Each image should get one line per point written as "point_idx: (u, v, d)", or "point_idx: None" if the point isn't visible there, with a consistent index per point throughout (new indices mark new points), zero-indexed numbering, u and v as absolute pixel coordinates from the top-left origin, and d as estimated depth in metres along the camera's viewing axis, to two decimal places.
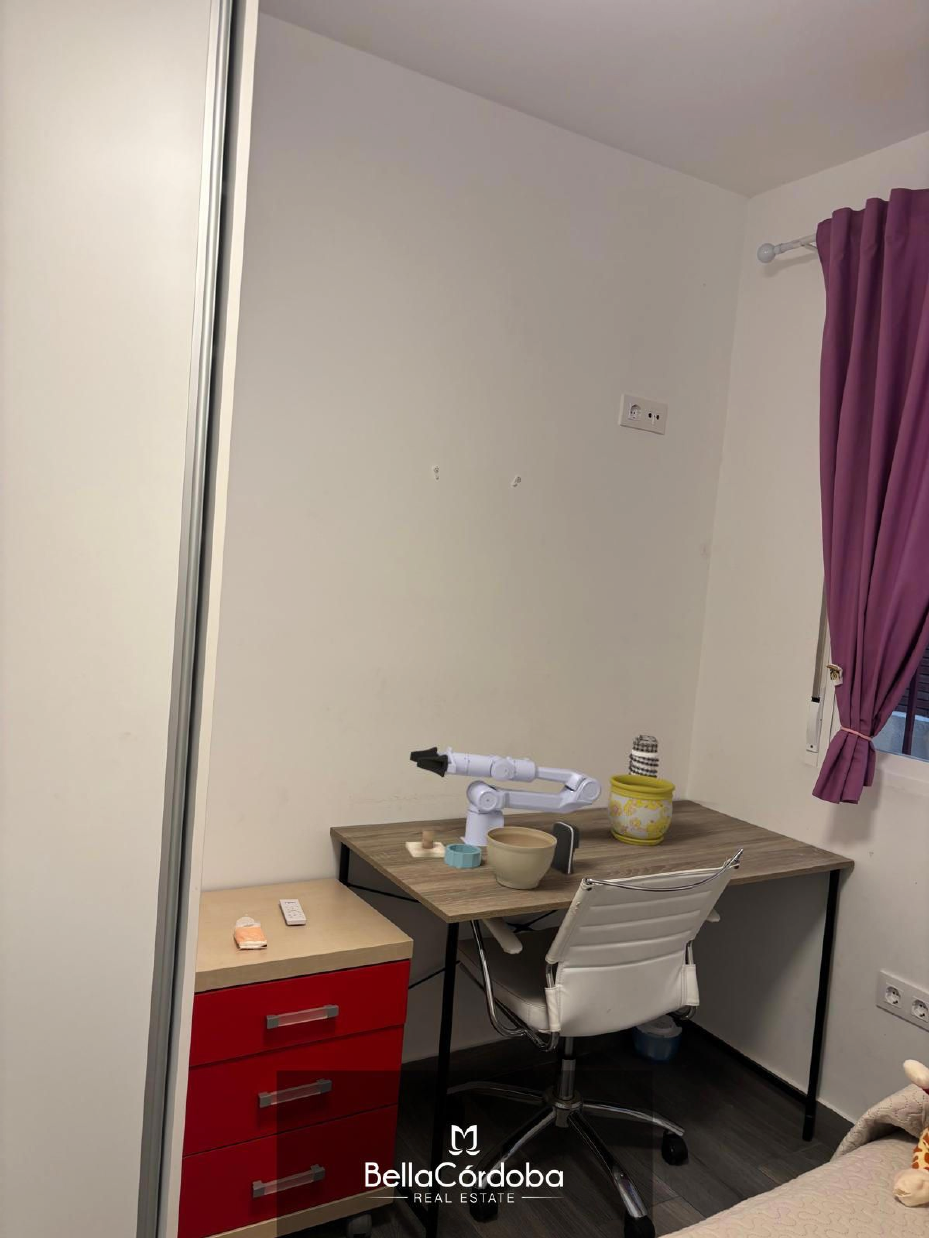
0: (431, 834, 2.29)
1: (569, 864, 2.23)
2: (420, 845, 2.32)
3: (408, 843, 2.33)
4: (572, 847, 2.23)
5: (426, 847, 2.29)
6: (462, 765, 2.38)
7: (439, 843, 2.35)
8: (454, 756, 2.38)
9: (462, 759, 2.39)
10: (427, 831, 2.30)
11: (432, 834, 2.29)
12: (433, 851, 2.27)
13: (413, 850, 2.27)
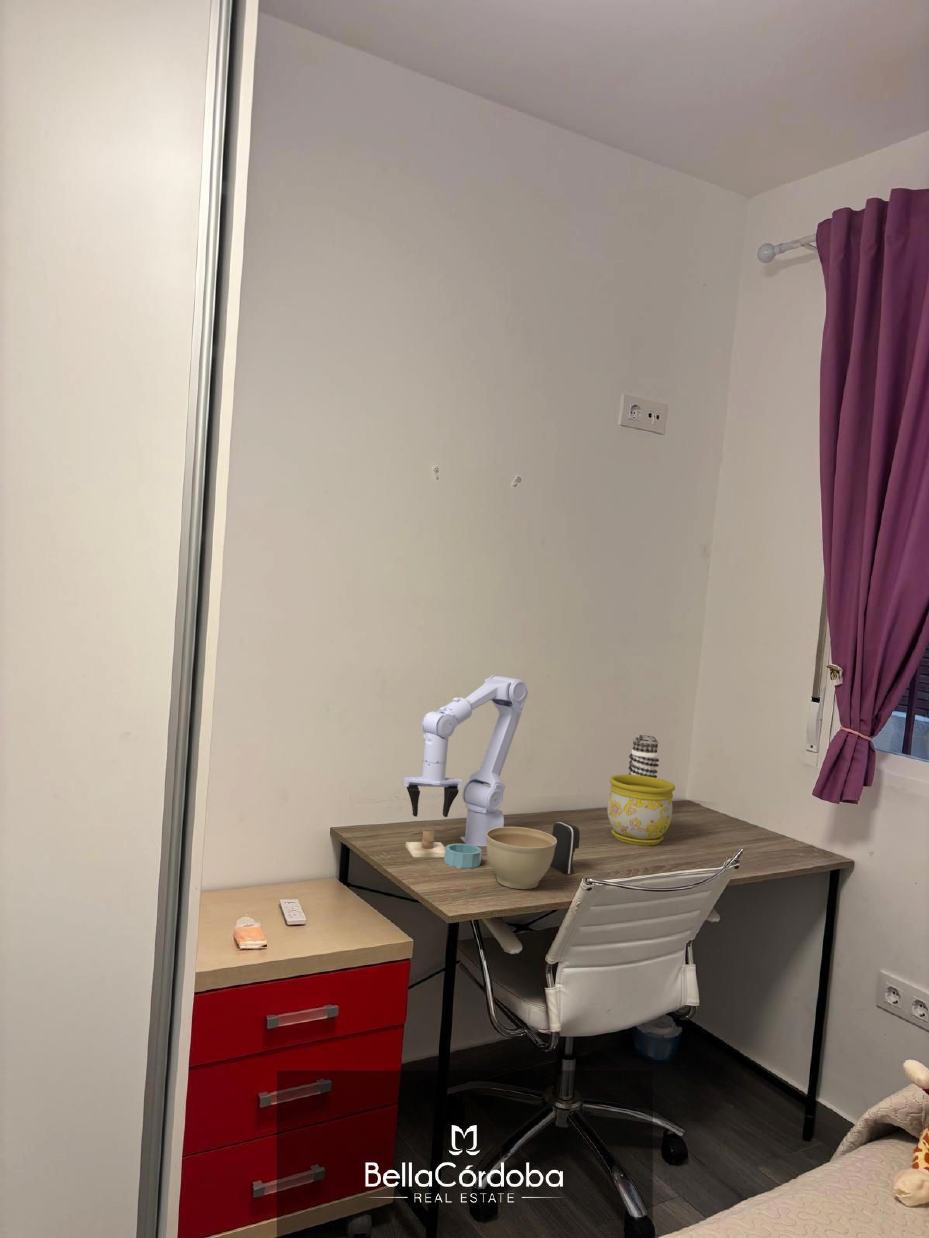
0: (431, 834, 2.29)
1: (569, 864, 2.23)
2: (420, 845, 2.32)
3: (408, 843, 2.33)
4: (572, 847, 2.23)
5: (426, 847, 2.29)
6: None
7: (439, 843, 2.35)
8: (443, 777, 2.28)
9: (444, 768, 2.29)
10: (427, 831, 2.30)
11: (432, 834, 2.29)
12: (433, 851, 2.27)
13: (413, 850, 2.27)
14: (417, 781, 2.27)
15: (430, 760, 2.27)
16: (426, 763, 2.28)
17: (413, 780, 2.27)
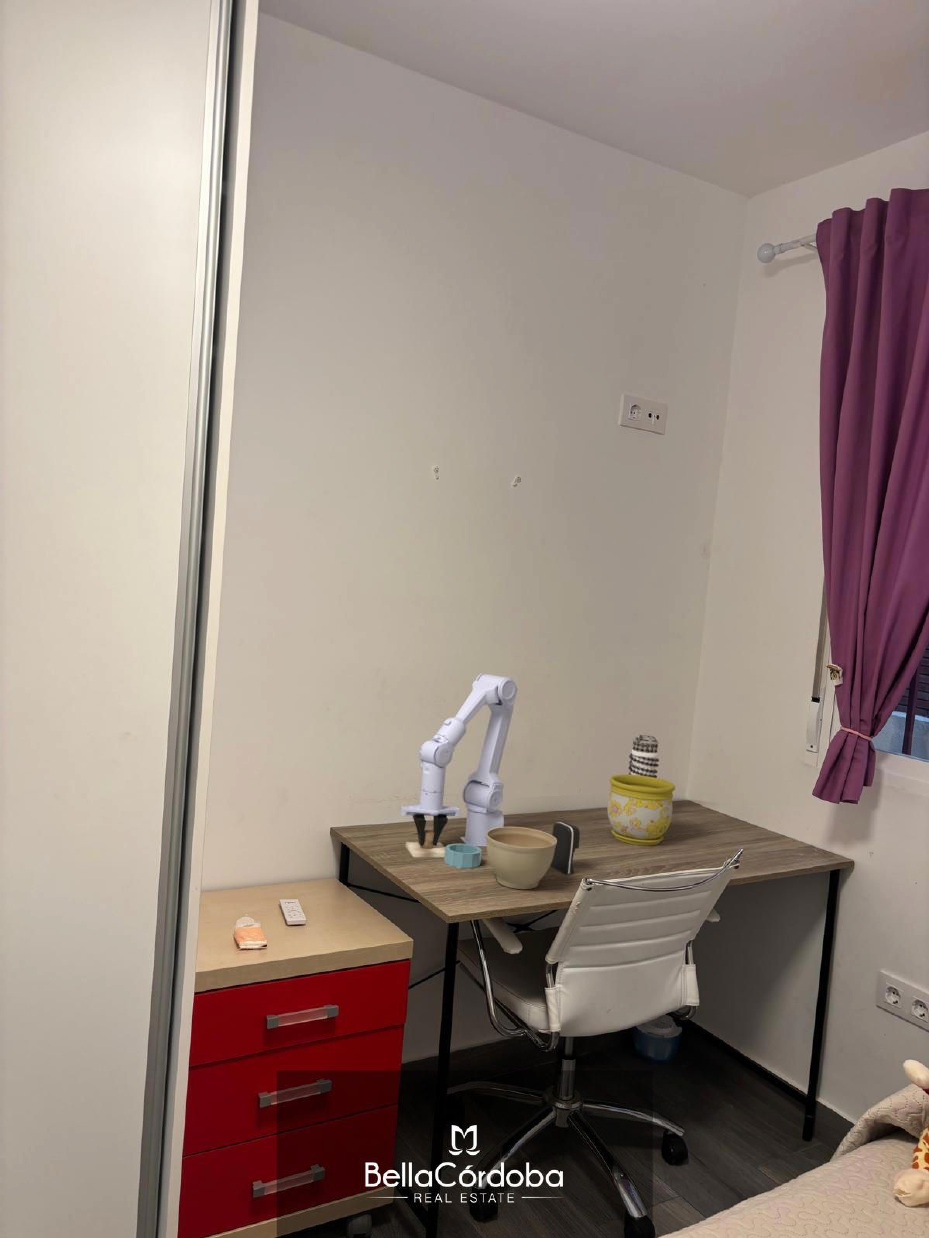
0: (431, 834, 2.29)
1: (569, 864, 2.23)
2: None
3: (408, 843, 2.33)
4: (572, 847, 2.23)
5: (426, 847, 2.29)
6: None
7: (439, 843, 2.35)
8: (440, 806, 2.29)
9: (442, 797, 2.29)
10: (427, 831, 2.30)
11: (432, 834, 2.29)
12: (433, 851, 2.27)
13: (413, 850, 2.27)
14: (415, 810, 2.27)
15: (427, 789, 2.27)
16: (424, 792, 2.28)
17: (411, 809, 2.27)
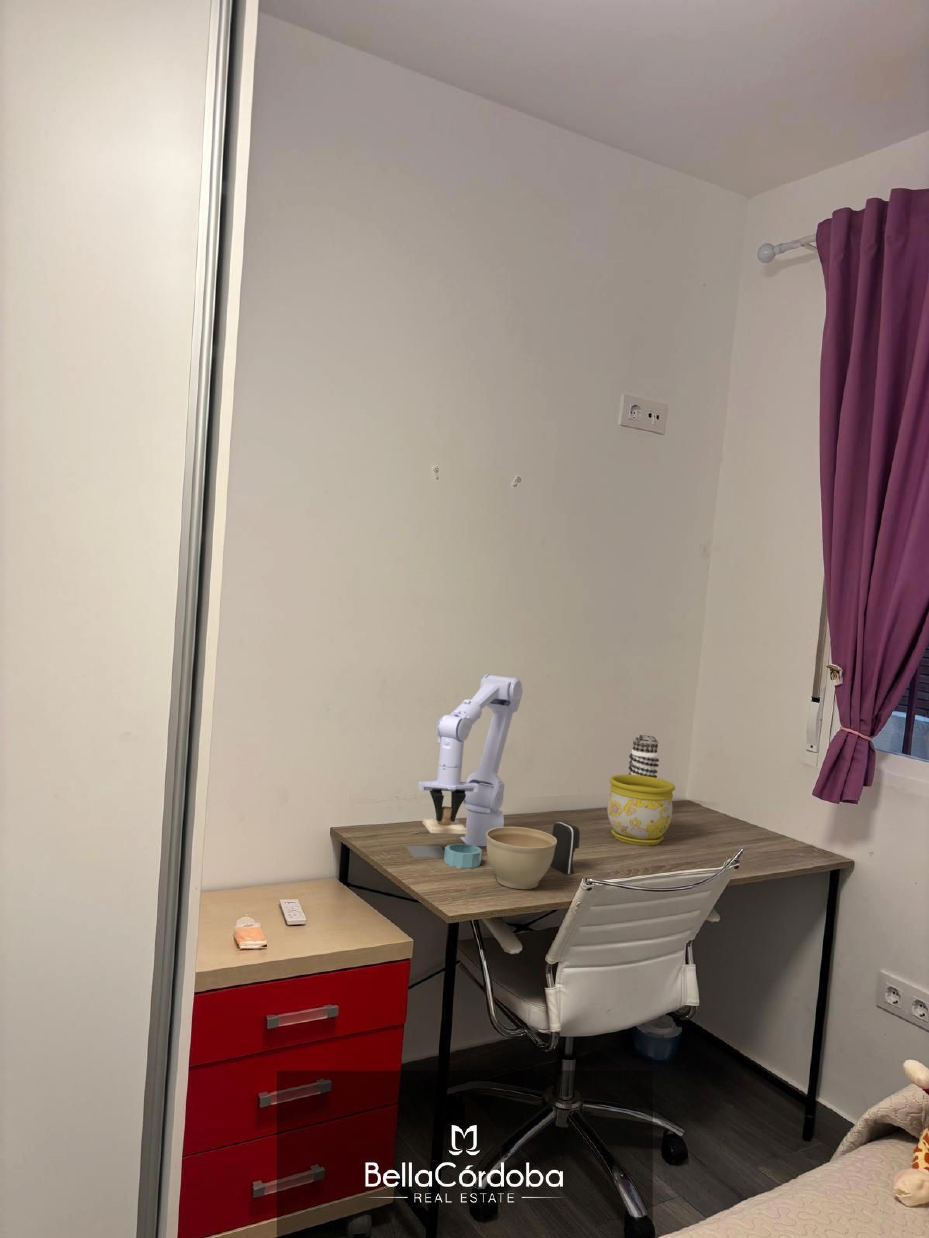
0: (449, 810, 2.26)
1: (569, 864, 2.23)
2: (437, 822, 2.28)
3: (425, 820, 2.29)
4: (572, 847, 2.23)
5: (444, 824, 2.26)
6: None
7: (456, 820, 2.32)
8: (458, 782, 2.25)
9: (460, 773, 2.26)
10: (445, 807, 2.27)
11: (450, 810, 2.26)
12: (451, 828, 2.24)
13: (431, 826, 2.24)
14: (432, 785, 2.24)
15: (448, 765, 2.24)
16: (441, 767, 2.25)
17: (428, 784, 2.24)
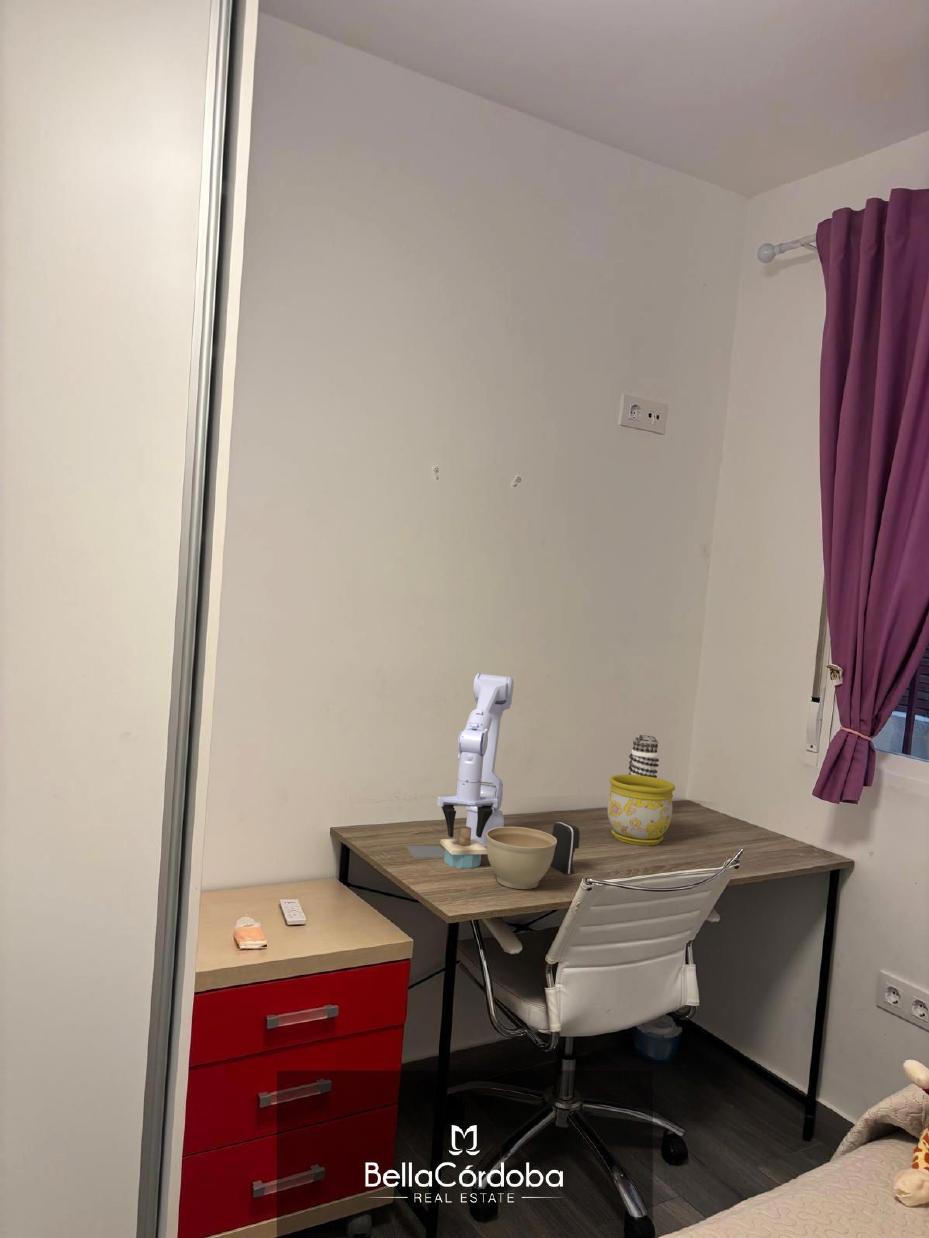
0: (468, 831, 2.22)
1: (569, 864, 2.23)
2: (456, 842, 2.25)
3: (443, 840, 2.25)
4: (572, 847, 2.23)
5: (463, 844, 2.22)
6: None
7: (474, 839, 2.29)
8: (478, 797, 2.22)
9: (480, 788, 2.22)
10: (464, 828, 2.23)
11: (469, 831, 2.23)
12: (471, 849, 2.20)
13: (451, 847, 2.20)
14: (452, 801, 2.20)
15: (472, 780, 2.20)
16: (461, 782, 2.21)
17: (447, 800, 2.20)
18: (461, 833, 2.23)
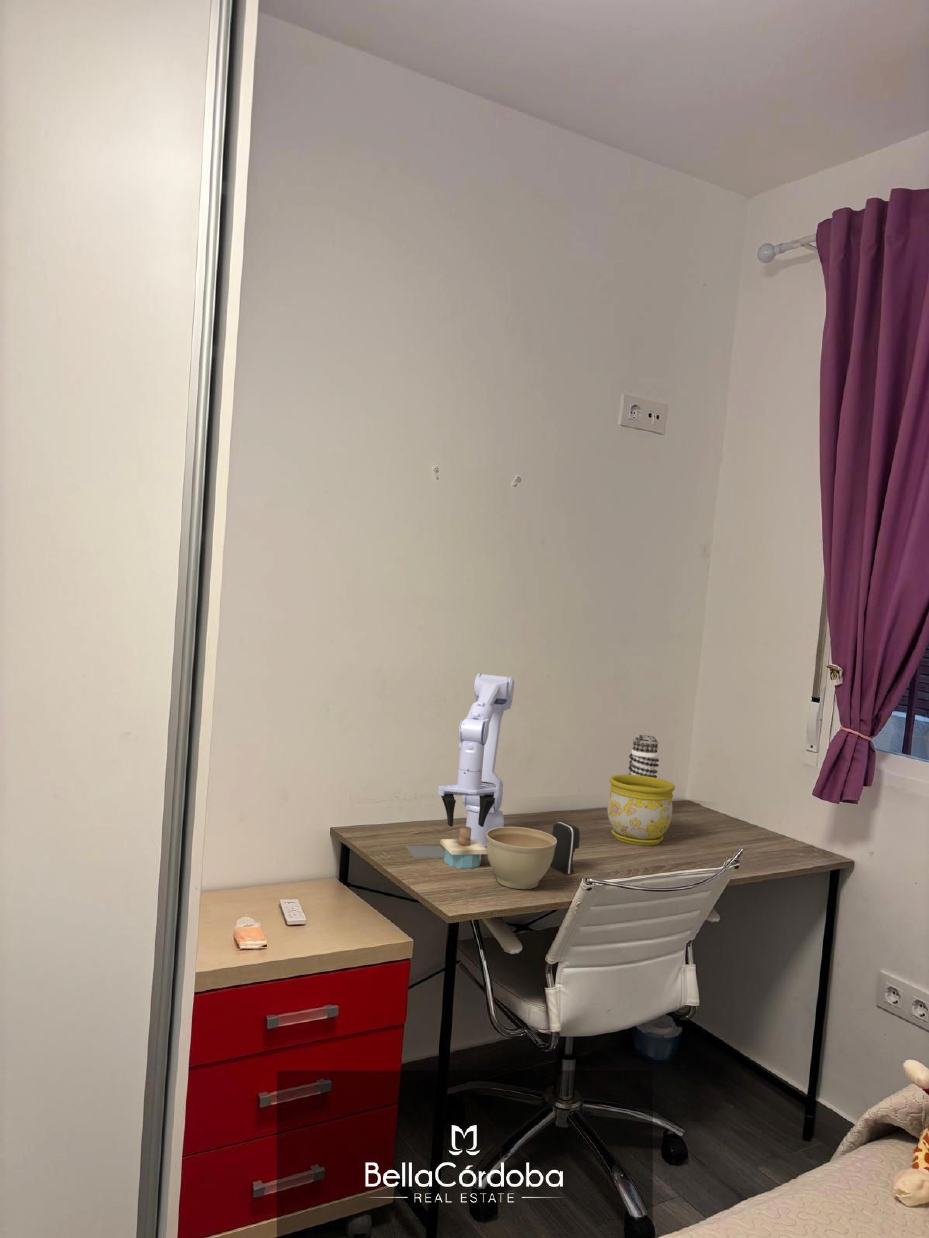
0: (468, 831, 2.22)
1: (569, 864, 2.23)
2: (456, 842, 2.25)
3: (443, 840, 2.25)
4: (572, 847, 2.23)
5: (463, 844, 2.22)
6: None
7: (474, 839, 2.29)
8: (479, 786, 2.21)
9: (481, 777, 2.22)
10: (464, 828, 2.23)
11: (469, 831, 2.23)
12: (471, 849, 2.20)
13: (451, 847, 2.20)
14: (453, 790, 2.20)
15: (473, 769, 2.20)
16: (462, 771, 2.21)
17: (448, 789, 2.20)
18: (461, 833, 2.23)
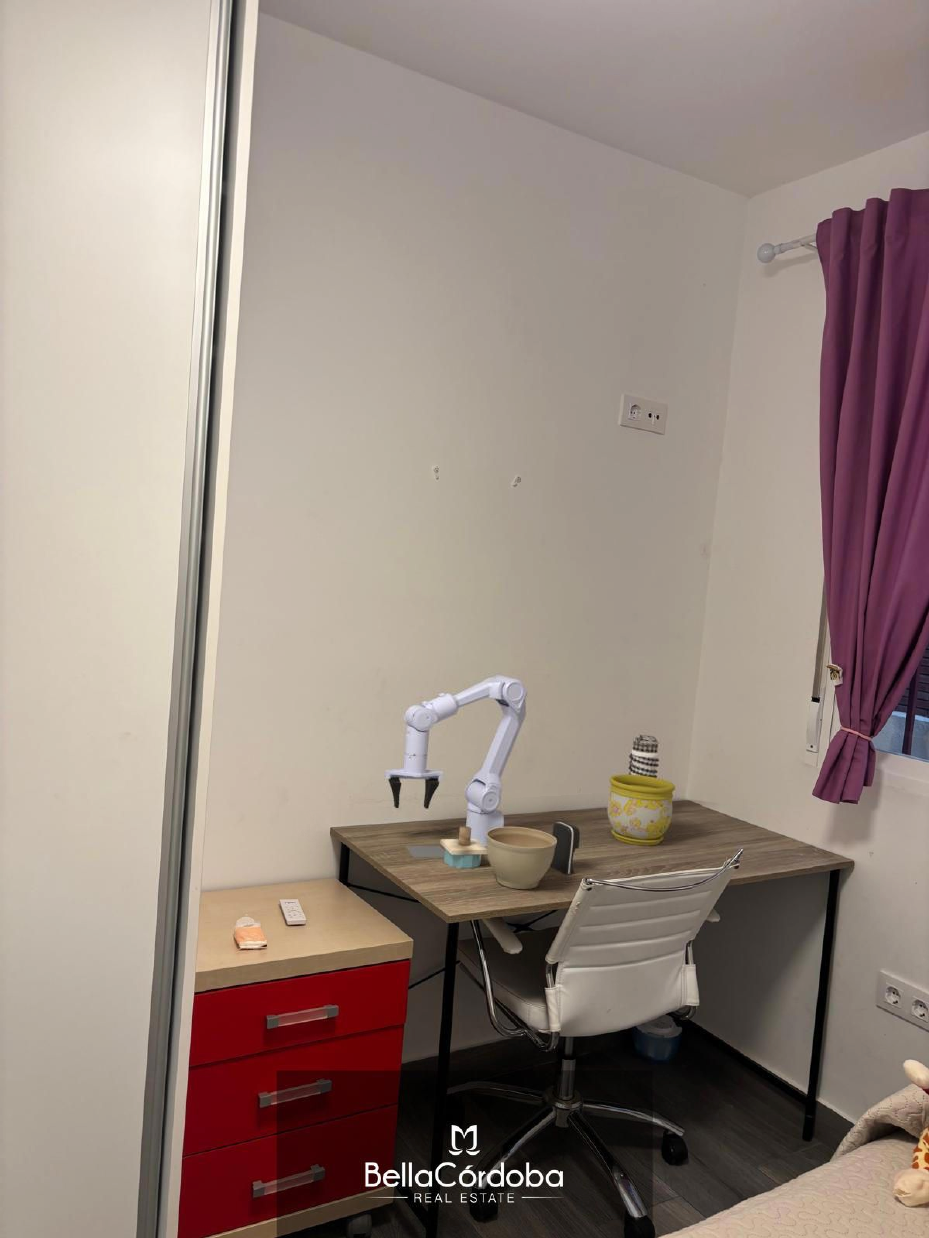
0: (468, 831, 2.22)
1: (569, 864, 2.23)
2: (456, 842, 2.25)
3: (443, 840, 2.25)
4: (572, 847, 2.23)
5: (463, 844, 2.22)
6: None
7: (474, 839, 2.29)
8: (423, 770, 2.33)
9: (425, 761, 2.34)
10: (464, 828, 2.23)
11: (469, 831, 2.23)
12: (471, 849, 2.20)
13: (451, 847, 2.20)
14: (398, 773, 2.32)
15: (408, 752, 2.32)
16: (407, 756, 2.32)
17: (394, 772, 2.32)
18: (461, 833, 2.23)
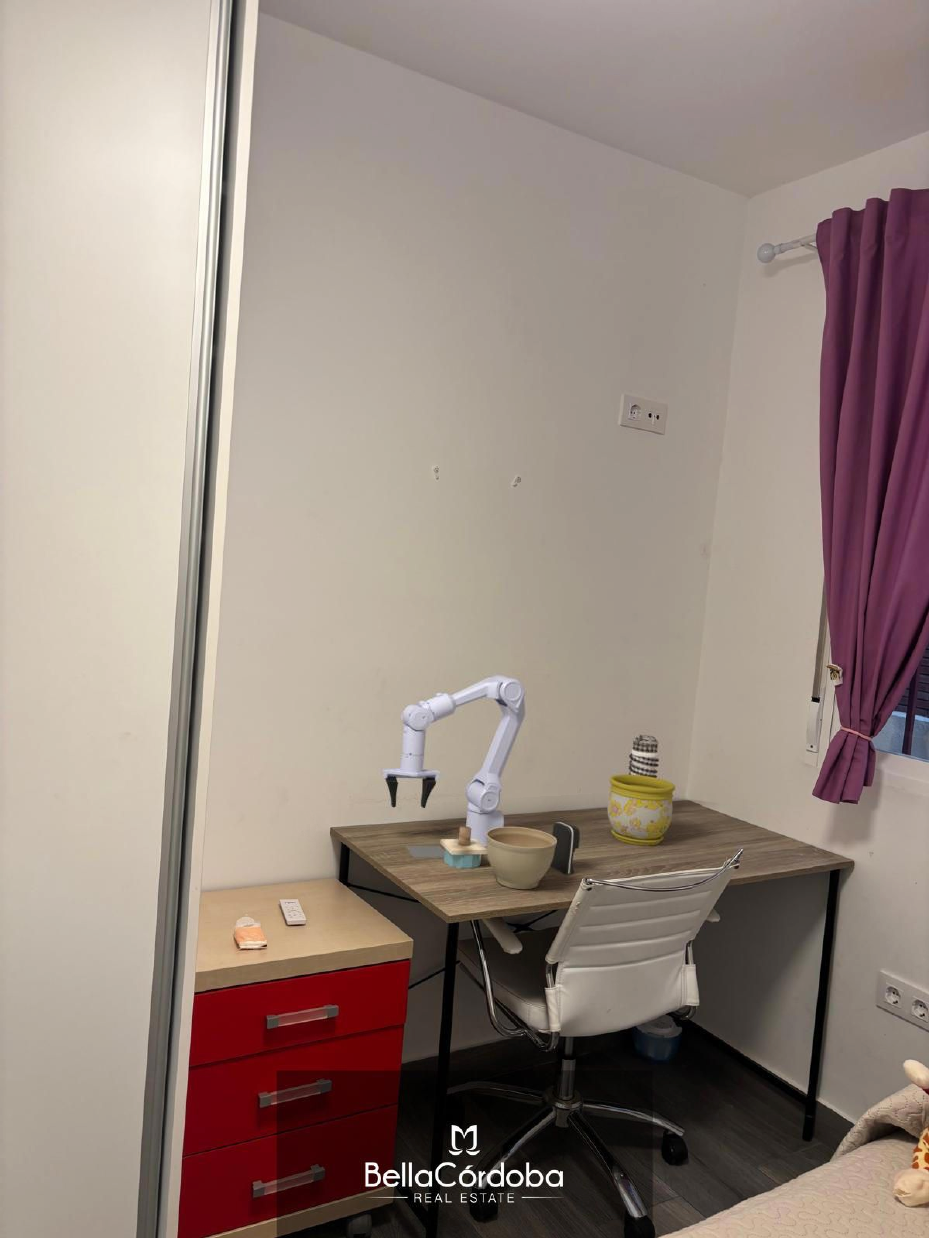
0: (468, 831, 2.22)
1: (569, 864, 2.23)
2: (456, 842, 2.25)
3: (443, 840, 2.25)
4: (572, 847, 2.23)
5: (463, 844, 2.22)
6: None
7: (474, 839, 2.29)
8: (420, 769, 2.34)
9: (422, 760, 2.34)
10: (464, 828, 2.23)
11: (469, 831, 2.23)
12: (471, 849, 2.20)
13: (451, 847, 2.20)
14: (395, 773, 2.33)
15: (404, 751, 2.33)
16: (404, 755, 2.33)
17: (391, 772, 2.33)
18: (461, 833, 2.23)
